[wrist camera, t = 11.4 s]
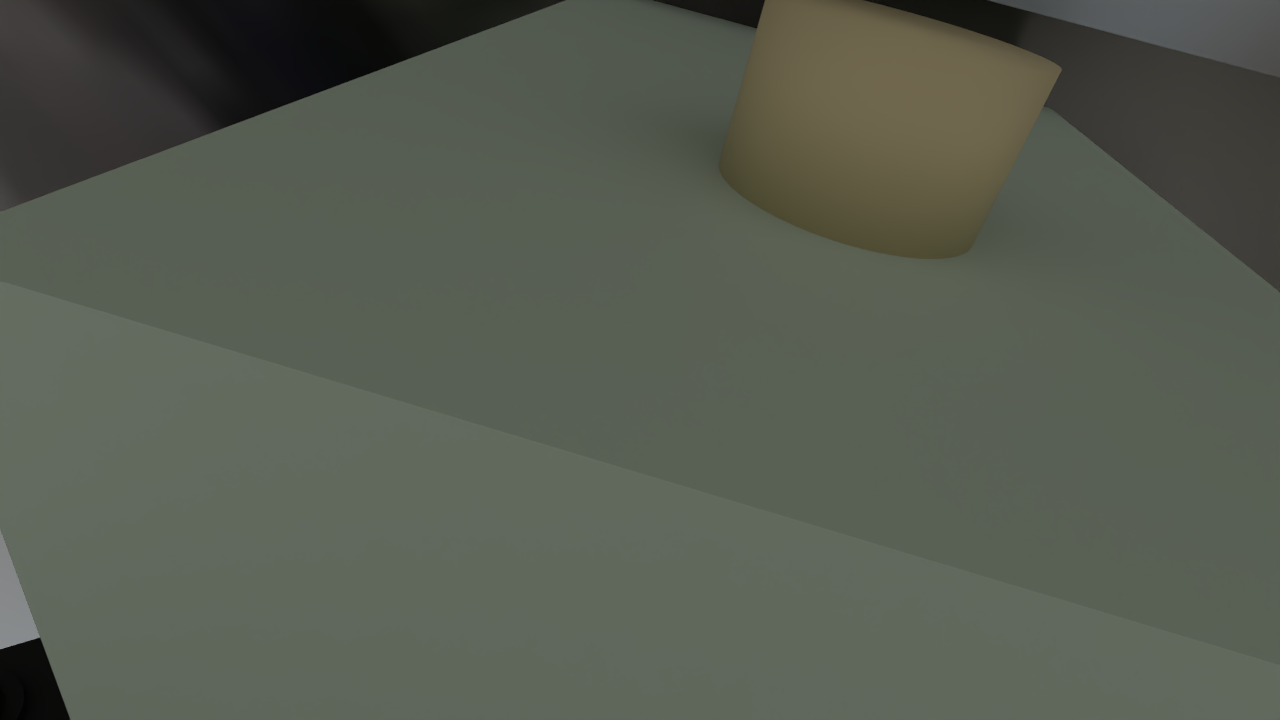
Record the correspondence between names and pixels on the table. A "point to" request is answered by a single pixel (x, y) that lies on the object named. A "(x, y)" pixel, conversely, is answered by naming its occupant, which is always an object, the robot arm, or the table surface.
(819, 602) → the pale green block
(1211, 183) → the table surface
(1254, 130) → the table surface
